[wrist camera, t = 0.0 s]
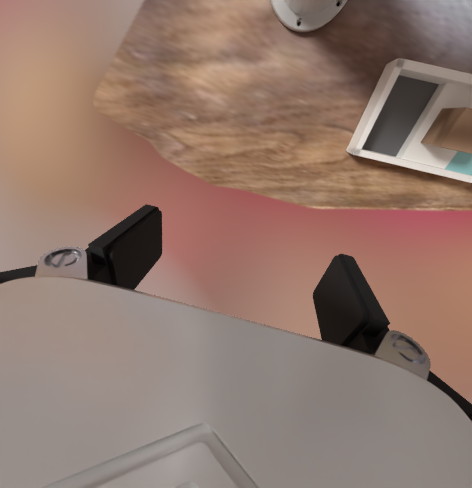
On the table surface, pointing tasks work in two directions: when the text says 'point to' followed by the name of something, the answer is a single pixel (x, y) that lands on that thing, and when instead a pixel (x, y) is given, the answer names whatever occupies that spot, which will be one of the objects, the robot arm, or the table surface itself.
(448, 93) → the tray
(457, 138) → the walnut block
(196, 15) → the table surface
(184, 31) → the table surface
